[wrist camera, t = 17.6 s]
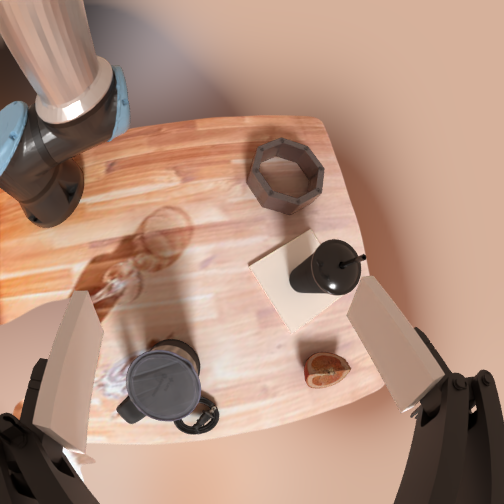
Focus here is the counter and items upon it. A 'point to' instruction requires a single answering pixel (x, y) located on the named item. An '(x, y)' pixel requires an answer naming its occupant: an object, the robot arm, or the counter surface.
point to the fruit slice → (325, 370)
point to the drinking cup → (328, 270)
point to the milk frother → (167, 387)
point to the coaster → (278, 286)
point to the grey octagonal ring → (292, 153)
